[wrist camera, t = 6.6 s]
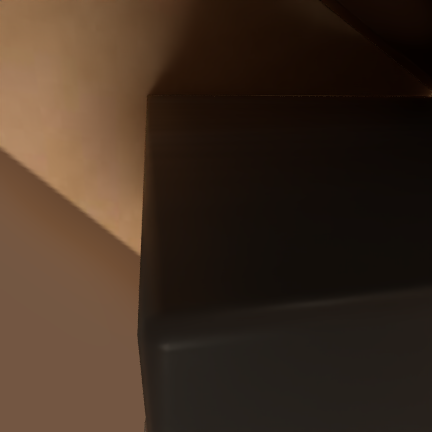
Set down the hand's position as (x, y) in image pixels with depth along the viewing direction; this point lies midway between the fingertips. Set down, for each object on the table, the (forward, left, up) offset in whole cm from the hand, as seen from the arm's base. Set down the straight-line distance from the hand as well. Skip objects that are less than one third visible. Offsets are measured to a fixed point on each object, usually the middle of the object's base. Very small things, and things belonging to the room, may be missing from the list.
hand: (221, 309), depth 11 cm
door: (+3, +6, -7) cm, 10 cm away
